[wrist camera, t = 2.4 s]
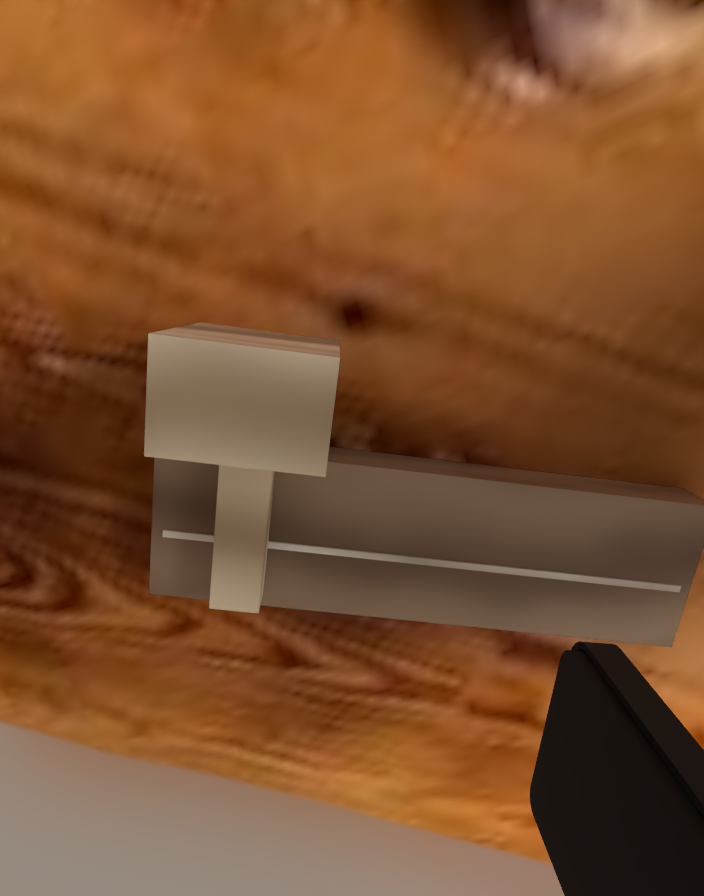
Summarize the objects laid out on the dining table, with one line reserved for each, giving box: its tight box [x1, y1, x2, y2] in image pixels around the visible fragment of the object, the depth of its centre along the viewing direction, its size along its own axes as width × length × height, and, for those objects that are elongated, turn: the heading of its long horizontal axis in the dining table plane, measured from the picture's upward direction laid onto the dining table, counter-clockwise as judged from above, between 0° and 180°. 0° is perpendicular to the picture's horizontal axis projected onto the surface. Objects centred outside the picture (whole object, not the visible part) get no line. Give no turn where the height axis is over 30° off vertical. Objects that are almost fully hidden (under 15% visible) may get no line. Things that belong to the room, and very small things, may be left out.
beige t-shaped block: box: [144, 323, 340, 613], centre depth 23 cm, size 11×6×7 cm, turn 173°
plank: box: [149, 447, 704, 647], centre depth 26 cm, size 7×24×2 cm, turn 83°
